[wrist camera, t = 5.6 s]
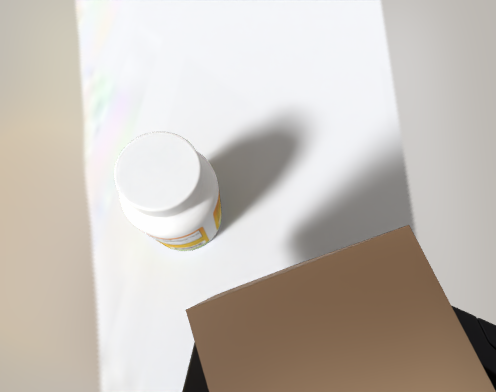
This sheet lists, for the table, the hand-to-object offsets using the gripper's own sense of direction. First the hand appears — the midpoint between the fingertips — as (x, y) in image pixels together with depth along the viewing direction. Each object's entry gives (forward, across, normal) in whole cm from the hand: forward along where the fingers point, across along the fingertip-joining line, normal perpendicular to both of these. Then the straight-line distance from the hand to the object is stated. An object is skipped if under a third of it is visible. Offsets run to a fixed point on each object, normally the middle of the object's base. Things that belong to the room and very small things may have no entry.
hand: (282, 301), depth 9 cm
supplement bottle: (+14, +3, +4) cm, 15 cm away
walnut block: (+4, 0, +6) cm, 7 cm away
